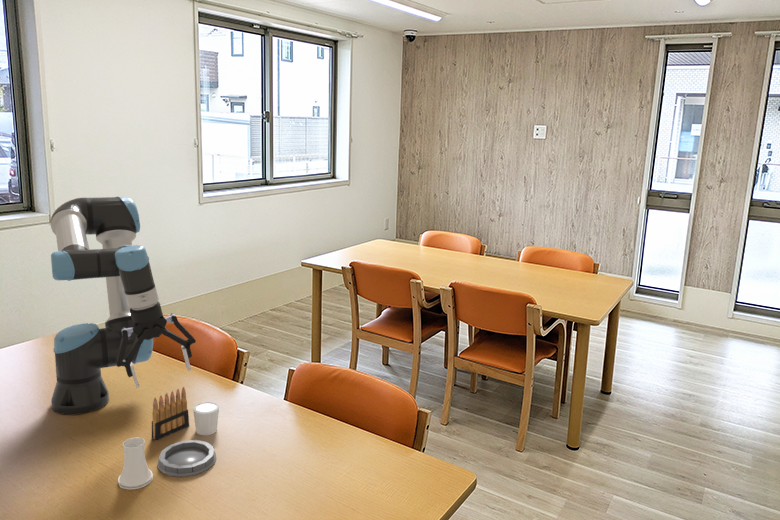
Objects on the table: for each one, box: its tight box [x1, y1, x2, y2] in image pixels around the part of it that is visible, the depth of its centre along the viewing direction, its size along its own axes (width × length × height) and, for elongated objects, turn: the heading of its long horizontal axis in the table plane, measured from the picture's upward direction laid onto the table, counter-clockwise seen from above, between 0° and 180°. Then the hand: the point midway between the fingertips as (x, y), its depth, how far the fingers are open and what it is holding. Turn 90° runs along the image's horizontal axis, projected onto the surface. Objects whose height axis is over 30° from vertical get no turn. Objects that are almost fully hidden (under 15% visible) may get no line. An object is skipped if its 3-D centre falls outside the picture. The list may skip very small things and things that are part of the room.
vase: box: [117, 436, 154, 490], centre depth 142 cm, size 8×8×10 cm
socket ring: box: [157, 439, 217, 478], centre depth 152 cm, size 14×14×2 cm
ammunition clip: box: [151, 386, 190, 441], centre depth 164 cm, size 11×2×12 cm, turn 145°
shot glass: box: [192, 401, 220, 436], centre depth 166 cm, size 7×7×7 cm
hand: (163, 377), depth 162 cm, fingers open, 13 cm apart
